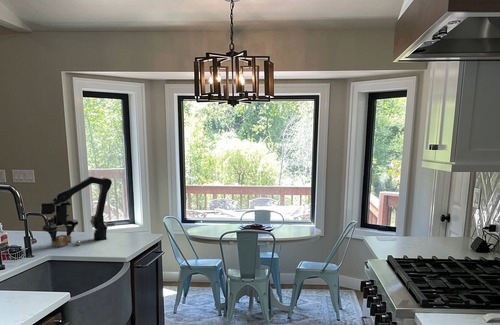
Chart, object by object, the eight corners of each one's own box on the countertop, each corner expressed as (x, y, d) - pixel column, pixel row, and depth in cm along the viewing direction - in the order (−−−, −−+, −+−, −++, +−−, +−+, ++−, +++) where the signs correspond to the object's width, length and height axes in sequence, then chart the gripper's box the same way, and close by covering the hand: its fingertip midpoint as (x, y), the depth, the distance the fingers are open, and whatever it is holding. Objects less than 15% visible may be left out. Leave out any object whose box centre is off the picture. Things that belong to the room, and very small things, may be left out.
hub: (67, 242, 178) (67, 234, 178) (68, 245, 173) (68, 237, 173) (53, 244, 174) (53, 236, 174) (54, 247, 168) (54, 239, 168)
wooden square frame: (62, 241, 178) (62, 234, 178) (71, 242, 176) (71, 236, 176) (51, 244, 171) (51, 237, 171) (60, 245, 169) (60, 239, 169)
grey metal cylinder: (79, 244, 175) (79, 240, 175) (80, 245, 174) (80, 241, 174) (75, 245, 174) (75, 241, 174) (76, 246, 173) (76, 241, 173)
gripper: (64, 209, 184) (64, 234, 184) (35, 214, 166) (35, 242, 167) (78, 210, 181) (78, 236, 181) (50, 216, 163) (50, 244, 163)
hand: (61, 239), depth 173 cm, fingers open, 9 cm apart
